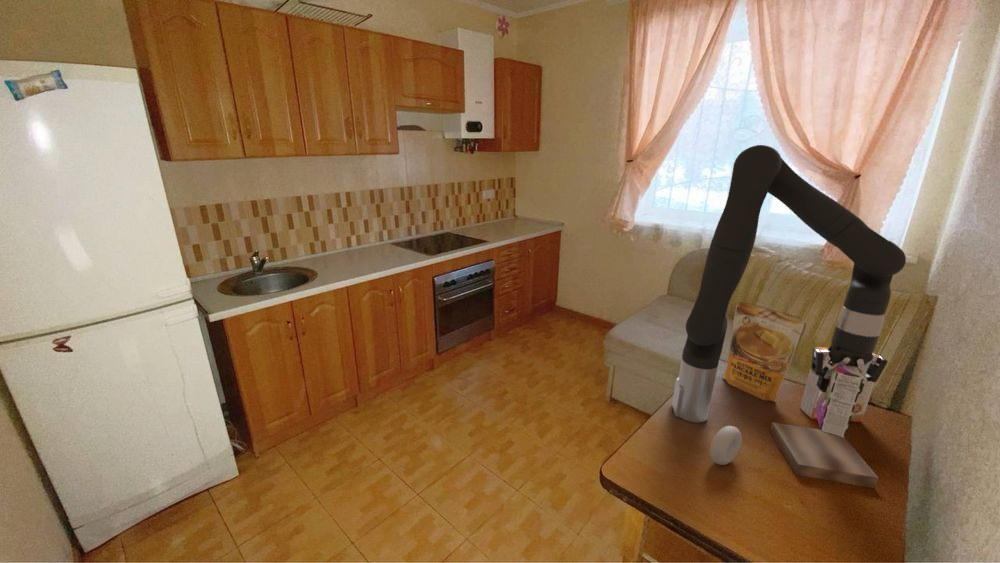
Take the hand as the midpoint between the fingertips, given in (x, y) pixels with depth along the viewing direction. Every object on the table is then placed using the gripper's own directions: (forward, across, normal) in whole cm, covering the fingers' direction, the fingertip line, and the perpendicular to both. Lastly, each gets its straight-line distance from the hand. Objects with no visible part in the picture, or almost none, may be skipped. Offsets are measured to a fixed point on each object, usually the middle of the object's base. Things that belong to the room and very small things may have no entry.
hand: (837, 392), depth 94 cm
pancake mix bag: (+19, -6, +30) cm, 36 cm away
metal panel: (+19, 0, 0) cm, 19 cm away
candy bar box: (+9, 0, 0) cm, 9 cm away
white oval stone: (+19, -24, -8) cm, 32 cm away
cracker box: (+19, +12, +21) cm, 31 cm away
